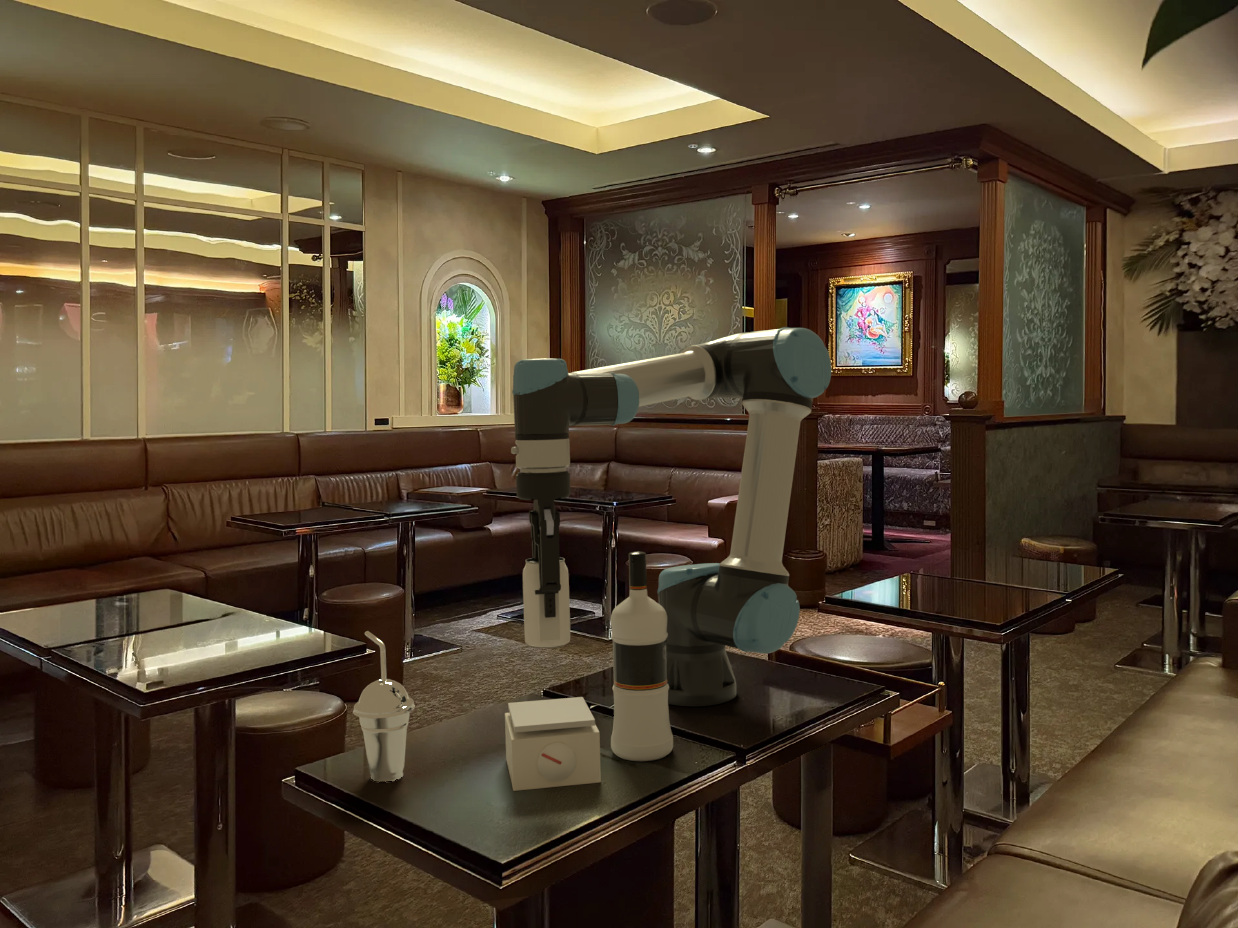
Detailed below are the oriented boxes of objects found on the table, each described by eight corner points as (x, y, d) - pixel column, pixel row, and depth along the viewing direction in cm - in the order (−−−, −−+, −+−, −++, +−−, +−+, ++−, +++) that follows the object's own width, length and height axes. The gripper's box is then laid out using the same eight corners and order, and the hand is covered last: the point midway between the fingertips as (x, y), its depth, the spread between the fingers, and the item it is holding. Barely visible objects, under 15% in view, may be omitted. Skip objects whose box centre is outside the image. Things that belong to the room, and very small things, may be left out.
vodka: (600, 748, 148) (595, 551, 146) (653, 737, 152) (648, 545, 151) (630, 767, 140) (624, 558, 138) (685, 755, 144) (680, 552, 142)
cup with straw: (353, 790, 134) (347, 646, 133) (358, 767, 143) (352, 631, 142) (417, 784, 136) (412, 641, 134) (417, 761, 144) (412, 627, 143)
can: (573, 638, 142) (570, 555, 142) (567, 648, 136) (565, 562, 135) (528, 638, 143) (526, 556, 142) (521, 649, 136) (518, 563, 136)
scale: (587, 752, 147) (585, 695, 146) (601, 784, 134) (600, 722, 134) (506, 759, 144) (504, 702, 144) (513, 792, 132) (511, 730, 131)
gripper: (510, 467, 145) (515, 623, 146) (521, 475, 128) (527, 652, 129) (561, 465, 146) (565, 620, 148) (578, 472, 129) (583, 648, 130)
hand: (547, 634), depth 138 cm, fingers closed on can, 4 cm apart
